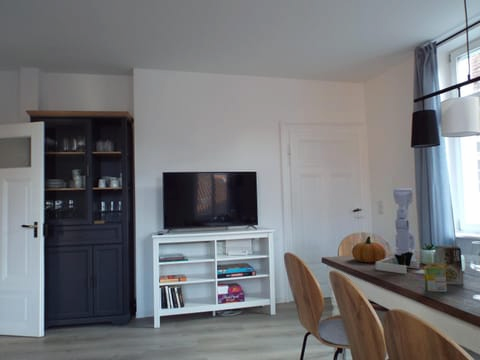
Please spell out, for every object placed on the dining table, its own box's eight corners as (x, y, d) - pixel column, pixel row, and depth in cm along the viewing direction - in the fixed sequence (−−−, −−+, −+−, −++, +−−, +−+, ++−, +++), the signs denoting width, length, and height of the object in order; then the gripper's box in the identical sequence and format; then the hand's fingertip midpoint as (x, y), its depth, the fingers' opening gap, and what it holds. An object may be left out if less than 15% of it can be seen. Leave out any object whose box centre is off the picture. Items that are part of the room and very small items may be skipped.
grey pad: (421, 270, 176) (421, 269, 176) (440, 272, 169) (440, 272, 169) (414, 273, 170) (414, 272, 170) (433, 275, 163) (433, 275, 163)
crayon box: (444, 290, 138) (442, 261, 139) (447, 292, 135) (445, 263, 136) (425, 289, 140) (423, 261, 141) (427, 291, 137) (426, 263, 138)
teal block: (396, 268, 183) (395, 257, 183) (405, 269, 179) (404, 258, 180) (392, 269, 180) (392, 258, 181) (402, 270, 177) (401, 259, 177)
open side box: (389, 264, 192) (389, 257, 192) (419, 268, 181) (418, 260, 181) (375, 269, 180) (375, 262, 181) (406, 273, 169) (405, 265, 169)
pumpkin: (346, 261, 206) (345, 237, 206) (361, 257, 218) (360, 234, 219) (377, 265, 191) (375, 239, 192) (391, 260, 204) (390, 236, 205)
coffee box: (459, 281, 151) (457, 245, 152) (463, 285, 145) (461, 247, 146) (436, 280, 154) (434, 245, 155) (440, 283, 148) (437, 247, 149)
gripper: (401, 239, 186) (402, 263, 186) (390, 242, 177) (391, 268, 176) (414, 240, 181) (416, 265, 180) (403, 243, 171) (405, 269, 171)
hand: (404, 266), depth 178 cm, fingers open, 7 cm apart
